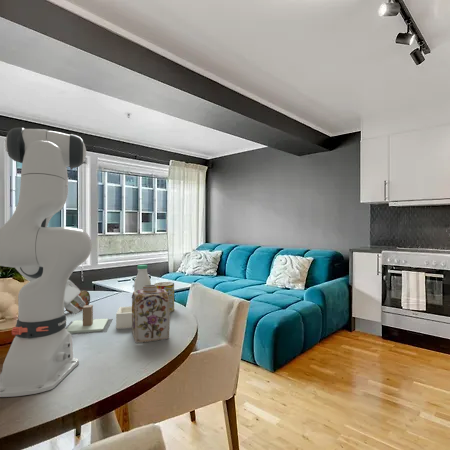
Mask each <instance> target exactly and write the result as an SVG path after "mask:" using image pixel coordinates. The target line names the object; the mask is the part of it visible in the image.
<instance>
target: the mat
mask: <svg viewBox="0 0 450 450" xmlns="http://www.w3.org/2000/svg"><path fill="white" fill-rule="evenodd" d="M112 321H113V318H110V319H109V318H108V322H107V324H106V326H105V328H104V330H103V331H96V332H81V333H70V334H71V335H72V336H73V335H86V334H89V335H90V334H100V333H103V334H104V333H107V332H108V330H109V328H110V327H111V324H112ZM72 322H73V321H70V323H68V324H67V325H66V327H65V328H66V329H67V328H68V327H69V326H70V325H71V324H72Z"/></svg>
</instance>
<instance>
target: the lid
mask: <svg viewBox="0 0 450 450" xmlns="http://www.w3.org/2000/svg"><path fill="white" fill-rule="evenodd" d="M93 307H94V305H93V304H89V305H85V306H84V307H83V310H82V319H79V320H78V319H76V320H75V319H74V320H73V321H71V322H72V324H71V325H70V326H69V327H68V328H67V329H66V330H67V331H68V332H69V333H81V332H96V331H103V330H104V328H105V326H106V324H107V322H108V319H109V318H94V313H93V312H94V308H93Z"/></svg>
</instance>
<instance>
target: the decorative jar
mask: <svg viewBox="0 0 450 450" xmlns="http://www.w3.org/2000/svg"><path fill="white" fill-rule="evenodd" d="M169 301H170V300H169V296H168V293H167V291H166V290H165V289H158V288H157V286H156V285H154V284H151V285H144V286H143V289H140V290H137V291H133V292H132V295H131V306H132V328H131V330H132V336H133V338H134V341H135V343H137V344H138V343H149V342H155V341H163V340H164V339H165V340H169V339H170V324H171V322H170V314H171V312H170V308H169Z"/></svg>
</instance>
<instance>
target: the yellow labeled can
mask: <svg viewBox="0 0 450 450" xmlns="http://www.w3.org/2000/svg"><path fill="white" fill-rule="evenodd" d="M153 285H156V286H157V288H158V289H165V290H166V291H167V293H168V296H169V300H170V301H169V308H170V313H171V312H173V311H175V283H174V282H171V281H163V282H162V281H161V282H155V283H154V284H153Z"/></svg>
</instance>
